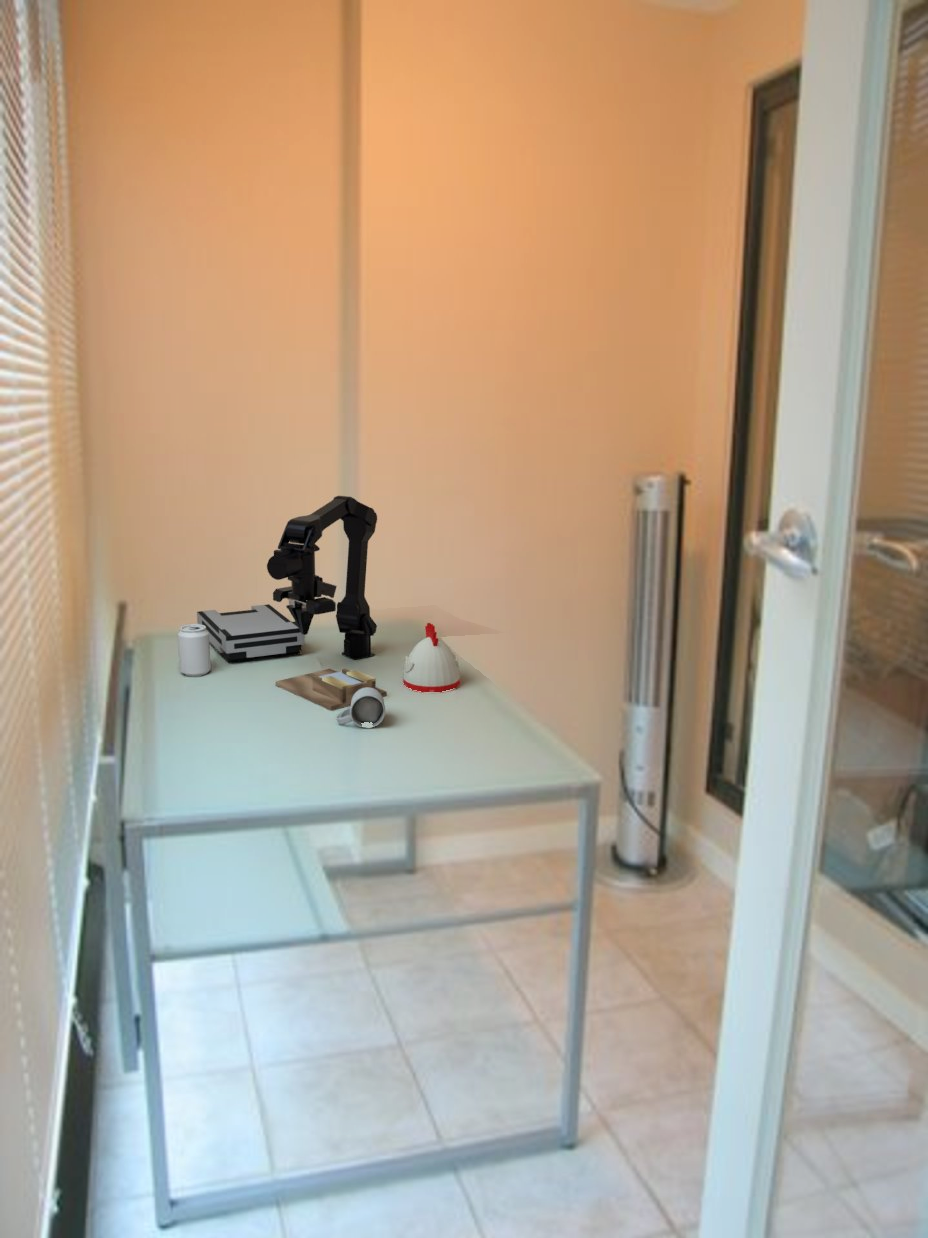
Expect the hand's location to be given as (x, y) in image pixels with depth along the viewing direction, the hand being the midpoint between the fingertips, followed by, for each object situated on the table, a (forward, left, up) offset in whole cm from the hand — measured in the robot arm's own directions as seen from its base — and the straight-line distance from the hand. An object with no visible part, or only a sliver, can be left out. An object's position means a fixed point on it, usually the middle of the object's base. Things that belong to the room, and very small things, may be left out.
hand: (304, 634), depth 255 cm
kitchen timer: (-22, +22, -12) cm, 33 cm away
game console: (-5, -35, -12) cm, 37 cm away
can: (+18, -22, -12) cm, 31 cm away
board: (0, +10, -12) cm, 16 cm away
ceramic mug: (+7, +32, -12) cm, 35 cm away
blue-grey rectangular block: (0, +15, -11) cm, 18 cm away
